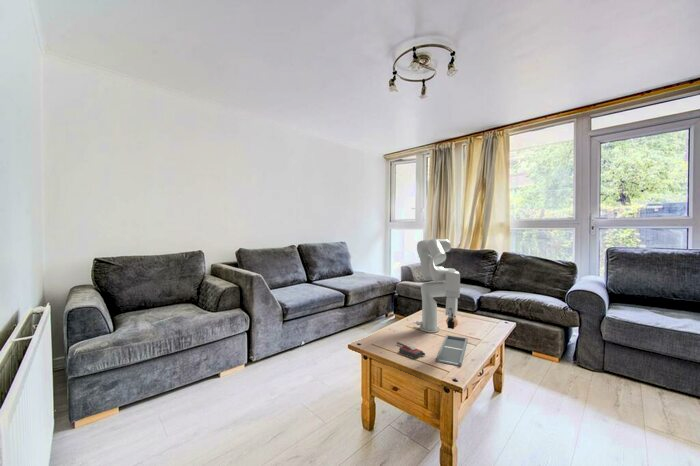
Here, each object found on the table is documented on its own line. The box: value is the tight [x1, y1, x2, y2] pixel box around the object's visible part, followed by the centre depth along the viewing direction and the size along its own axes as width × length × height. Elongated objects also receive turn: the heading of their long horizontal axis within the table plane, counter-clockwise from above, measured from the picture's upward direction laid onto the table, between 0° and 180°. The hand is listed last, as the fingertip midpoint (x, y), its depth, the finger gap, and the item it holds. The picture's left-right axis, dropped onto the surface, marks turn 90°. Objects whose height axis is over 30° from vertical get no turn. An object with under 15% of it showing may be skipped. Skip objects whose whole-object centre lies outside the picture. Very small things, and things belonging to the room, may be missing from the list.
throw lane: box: [435, 334, 468, 367], centre depth 160 cm, size 12×35×2 cm, turn 153°
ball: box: [445, 317, 459, 329], centre depth 157 cm, size 6×6×6 cm
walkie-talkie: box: [396, 341, 426, 360], centre depth 159 cm, size 9×4×20 cm
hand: (451, 326), depth 157 cm, fingers closed on ball, 5 cm apart
